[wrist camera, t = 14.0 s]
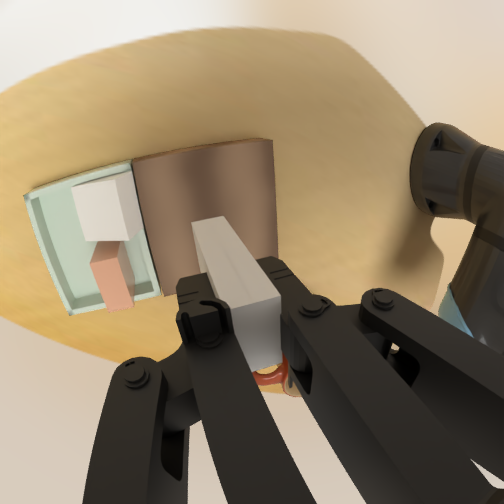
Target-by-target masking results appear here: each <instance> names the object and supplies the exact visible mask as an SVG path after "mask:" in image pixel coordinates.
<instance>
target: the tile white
mask: <svg viewBox="0 0 504 504" xmlns="http://www.w3.org/2000/svg"><path fill="white" fill-rule="evenodd" d="M71 190H72V194H73V198H74V202H75V206H76V210H77V214H78V217H79V221H80V224H81V228H82V231H83V234H84V237H85V241H129V240H131V239H132V238H133V237H134V236H135V235H136V234H137V233H138V232H139V231H140V230H142V229H143V228H144V226H143V222H142V217H141V213H140V209H139V204H138V199H137V194H136V189H135V184H134V179H133V174H132V171H129V172H122V173H116V174H112V175H108V176H104V177H101V178H97V179H93V180H90V181H86V182H83V183H80V184H76V185H74V186H72V187H71Z"/></svg>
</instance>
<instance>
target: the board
mask: <svg viewBox="0 0 504 504" xmlns="http://www.w3.org/2000/svg"><path fill="white" fill-rule="evenodd" d="M132 163H133V169H134V175H135V180H136V185H137V190H138V195H139V200H140V205H141V209H142V214H143V218H144V223H145V227H146V231H147V235H148V239H149V243H150V247H151V251H152V255H153V259H154V262H155V266H156V270H157V273H158V277H159V280H160V284H161V287H162V291H163V294H164V297H165V296H169V295H173V294H177V293H176V285H177V283H178V281H179V279H180V278H183V277H187V276H192V275H196V274H200V273H201V271H200V266H199V261H198V256H197V251H196V245H195V240H194V235H193V229H192V224H191V222H196V221H200V220H205V219H210V218H215V217H220V216H224V217H225V219H226V220H227V221H228V223H229V224H230V226H231V227H232V228H233V230H234V231H235V233H236V234H237V235H238V237H239V238H240V240H241V241H242V242H243V244H244V245H245V246H246V248H247V249H248V251H249V252H250V253H251V255H252V256H253V258H254V259H255V260H256V259H260V258H265V257H269V256H273V257H275V258H278V236H277V213H276V192H275V174H274V156H273V140H268V139H263V138H256V139H247V140H238V141H230V142H222V143H215V144H208V145H202V146H195V147H189V148H184V149H178V150H173V151H168V152H162V153H158V154H153V155H148V156H143V157H139V158H135V159H134V161H133V162H132Z"/></svg>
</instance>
